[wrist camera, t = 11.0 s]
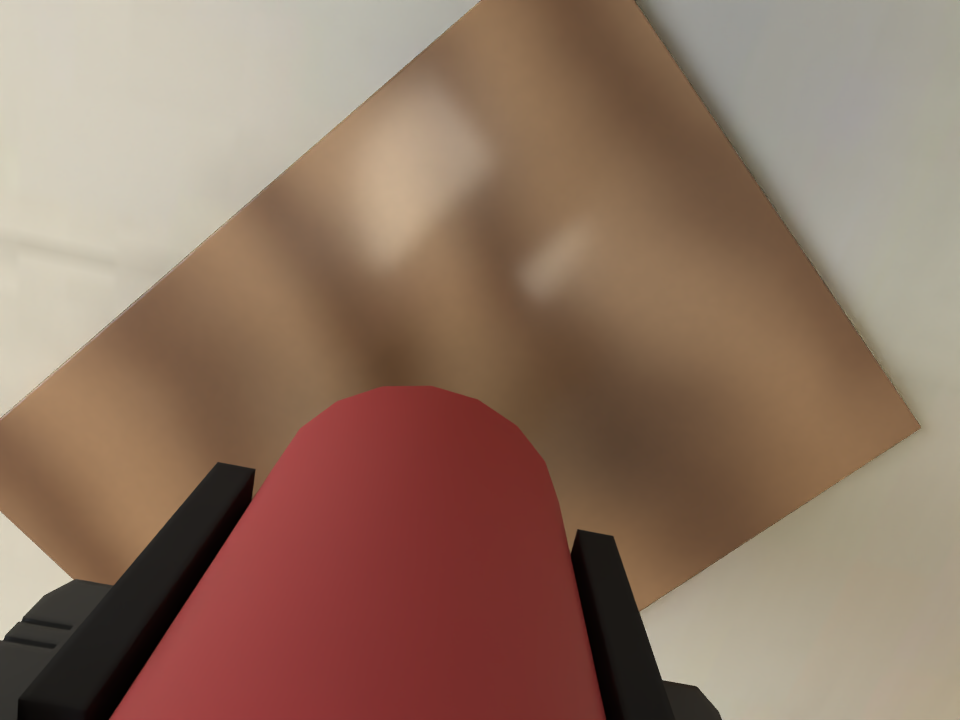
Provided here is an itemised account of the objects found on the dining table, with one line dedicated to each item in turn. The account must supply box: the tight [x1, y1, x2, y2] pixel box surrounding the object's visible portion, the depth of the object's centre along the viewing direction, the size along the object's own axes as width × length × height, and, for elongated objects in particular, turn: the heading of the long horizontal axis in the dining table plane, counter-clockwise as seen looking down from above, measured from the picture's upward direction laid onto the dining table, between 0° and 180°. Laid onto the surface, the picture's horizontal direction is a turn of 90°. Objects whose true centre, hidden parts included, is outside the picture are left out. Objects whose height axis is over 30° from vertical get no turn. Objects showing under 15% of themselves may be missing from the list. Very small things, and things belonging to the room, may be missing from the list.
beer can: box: [109, 386, 606, 720], centre depth 11 cm, size 7×7×12 cm
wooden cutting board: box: [0, 0, 921, 611], centre depth 21 cm, size 22×16×1 cm
